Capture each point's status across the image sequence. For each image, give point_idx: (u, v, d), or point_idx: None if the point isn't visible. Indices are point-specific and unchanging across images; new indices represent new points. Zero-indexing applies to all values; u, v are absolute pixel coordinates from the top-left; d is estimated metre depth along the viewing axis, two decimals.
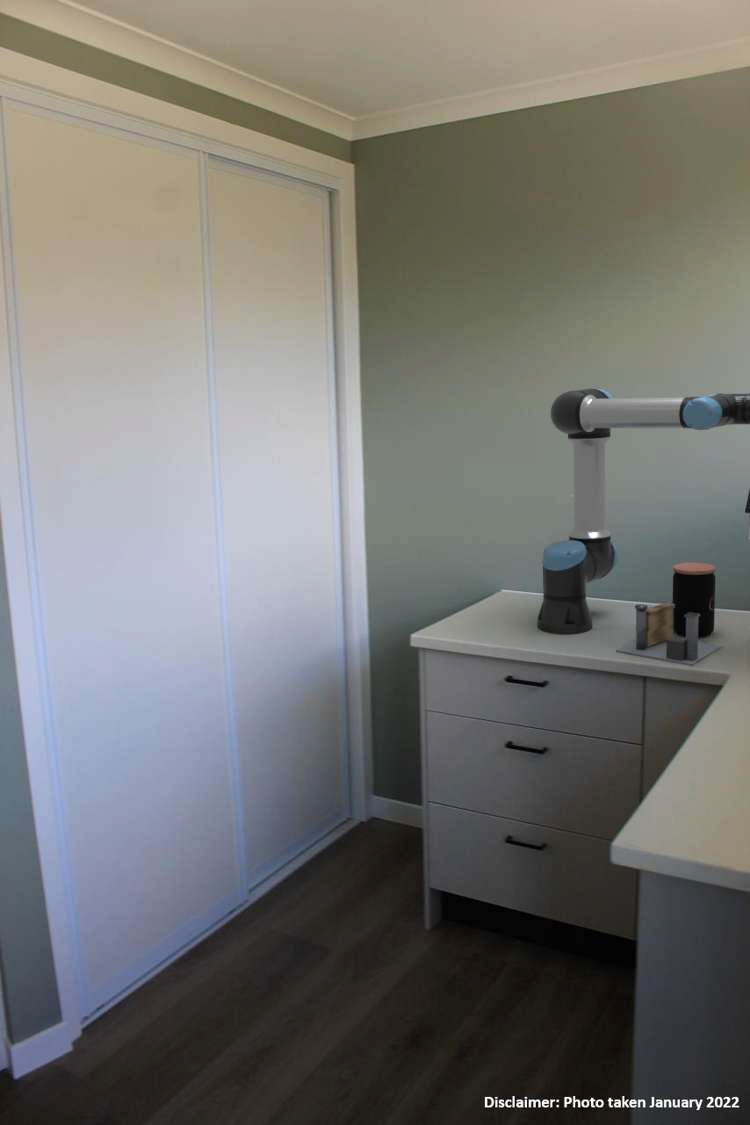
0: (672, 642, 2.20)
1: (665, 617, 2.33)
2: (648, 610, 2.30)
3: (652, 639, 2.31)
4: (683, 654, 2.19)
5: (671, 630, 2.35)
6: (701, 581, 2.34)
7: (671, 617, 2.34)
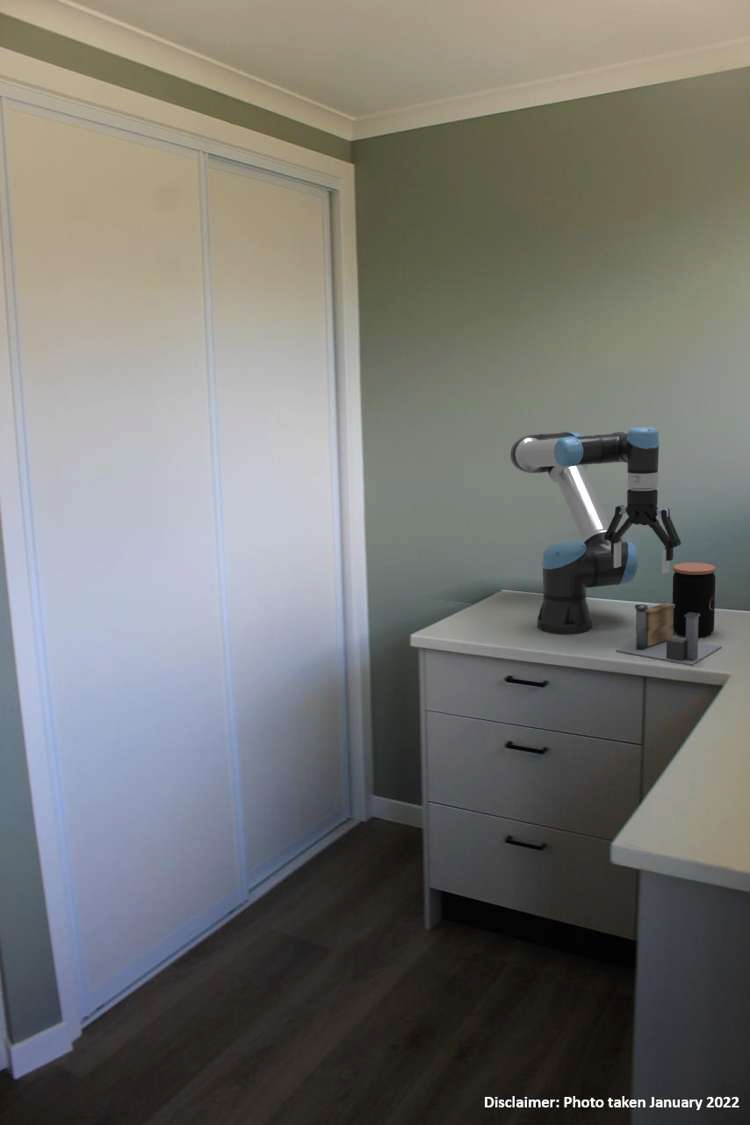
0: (672, 642, 2.20)
1: (665, 617, 2.33)
2: (648, 610, 2.30)
3: (652, 639, 2.31)
4: (683, 654, 2.19)
5: (671, 630, 2.35)
6: (701, 581, 2.34)
7: (671, 617, 2.34)
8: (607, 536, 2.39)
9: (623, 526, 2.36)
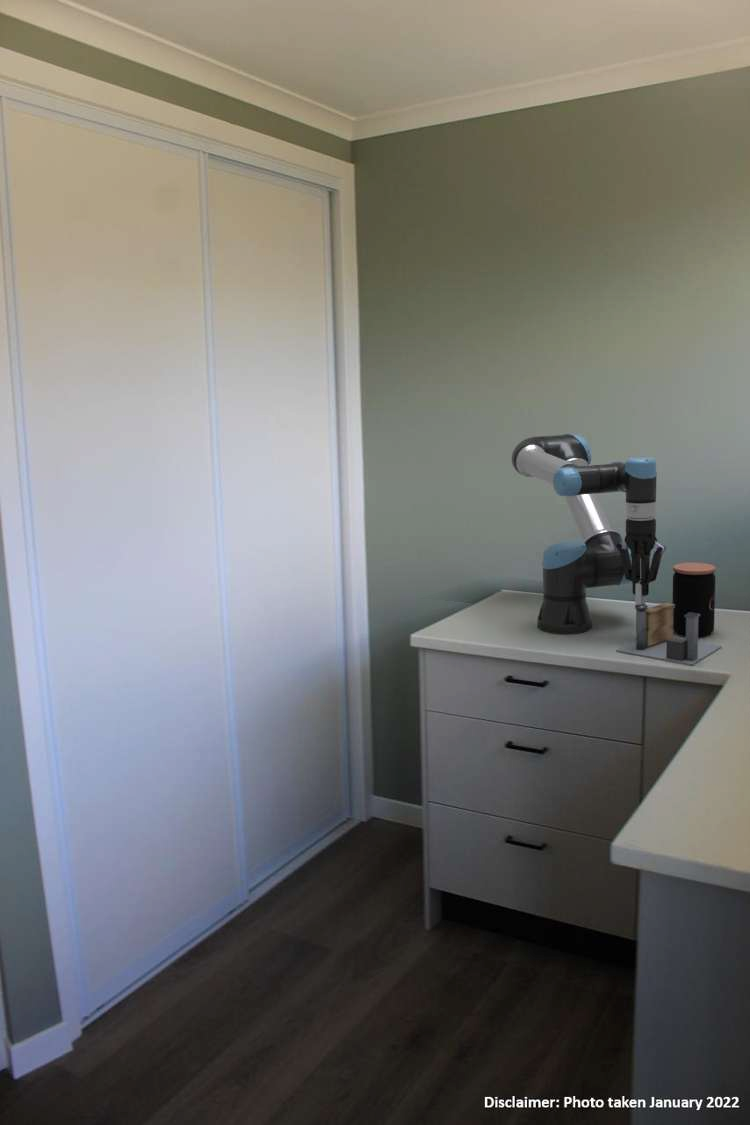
0: (672, 642, 2.20)
1: (665, 617, 2.33)
2: (648, 610, 2.30)
3: (652, 639, 2.31)
4: (683, 654, 2.19)
5: (671, 630, 2.35)
6: (701, 581, 2.34)
7: (671, 617, 2.34)
8: (627, 575, 2.37)
9: (633, 561, 2.35)
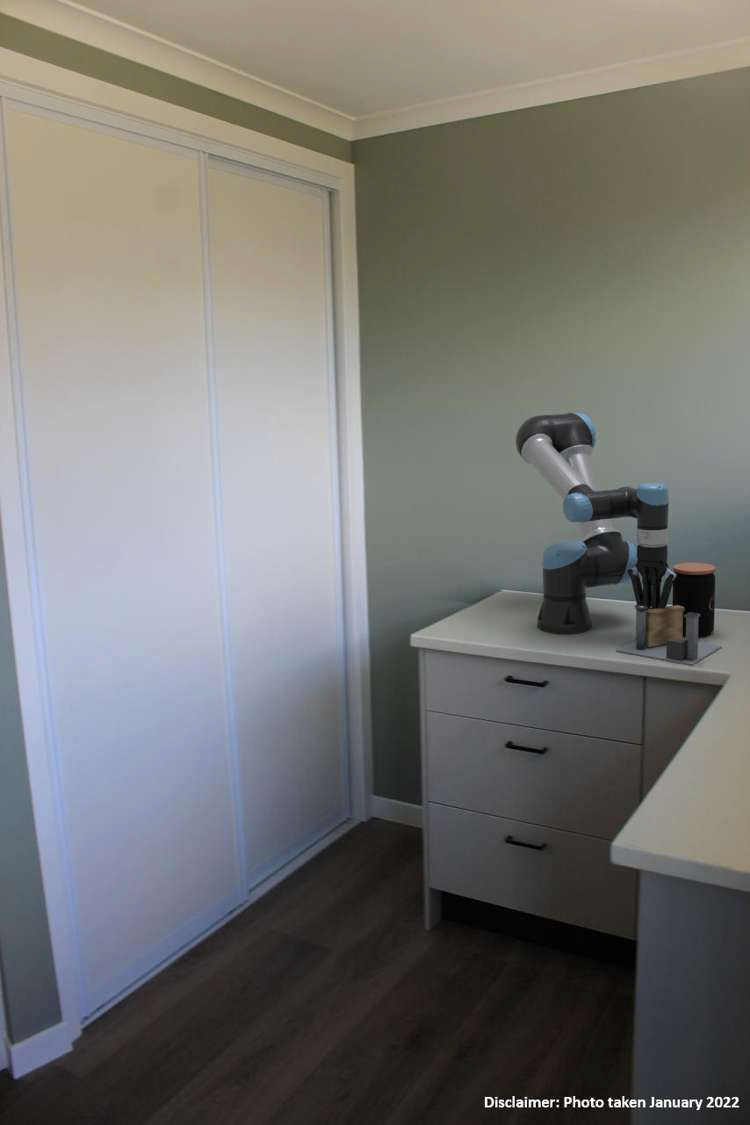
0: (672, 642, 2.20)
1: (671, 619, 2.30)
2: (651, 611, 2.29)
3: (654, 640, 2.30)
4: (683, 654, 2.19)
5: (680, 633, 2.32)
6: (701, 581, 2.34)
7: (680, 620, 2.31)
8: (639, 601, 2.36)
9: (644, 587, 2.34)
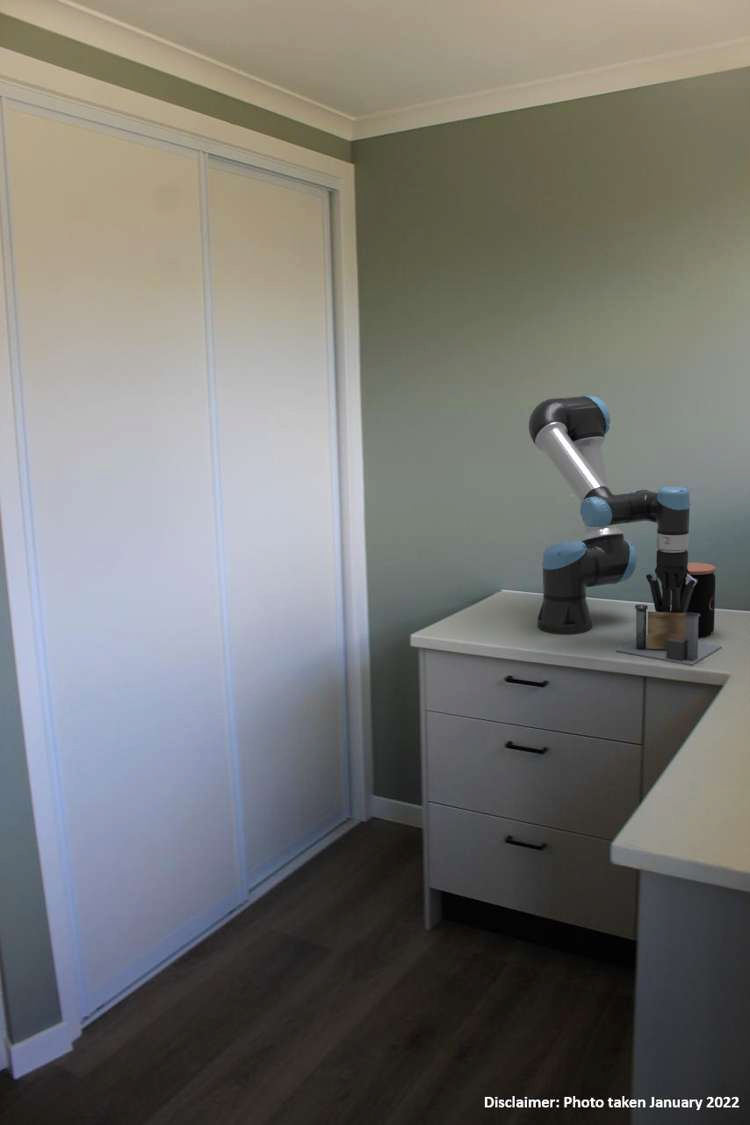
0: (672, 642, 2.20)
1: (677, 625, 2.25)
2: (653, 613, 2.27)
3: (654, 643, 2.28)
4: (683, 654, 2.19)
5: None
6: (701, 581, 2.34)
7: None
8: (657, 607, 2.30)
9: (663, 593, 2.29)
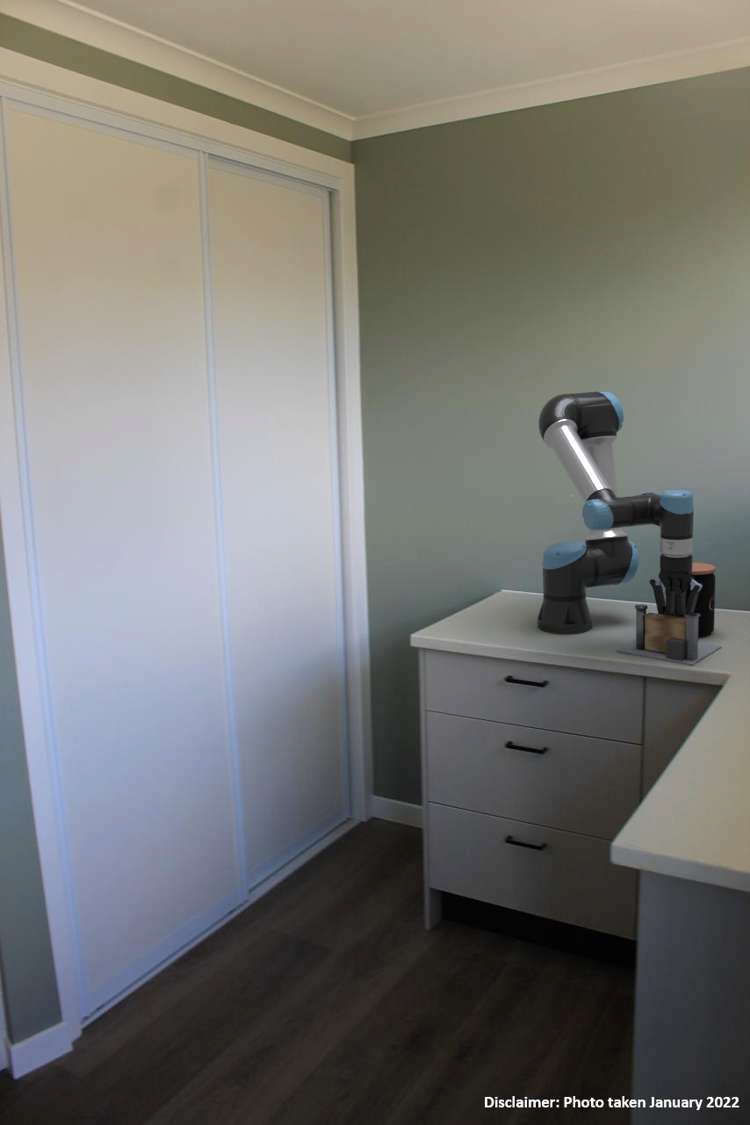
0: (672, 642, 2.20)
1: (671, 629, 2.22)
2: (652, 614, 2.26)
3: (651, 644, 2.27)
4: (683, 654, 2.19)
5: None
6: (701, 581, 2.34)
7: (681, 633, 2.20)
8: (661, 613, 2.26)
9: (667, 598, 2.24)
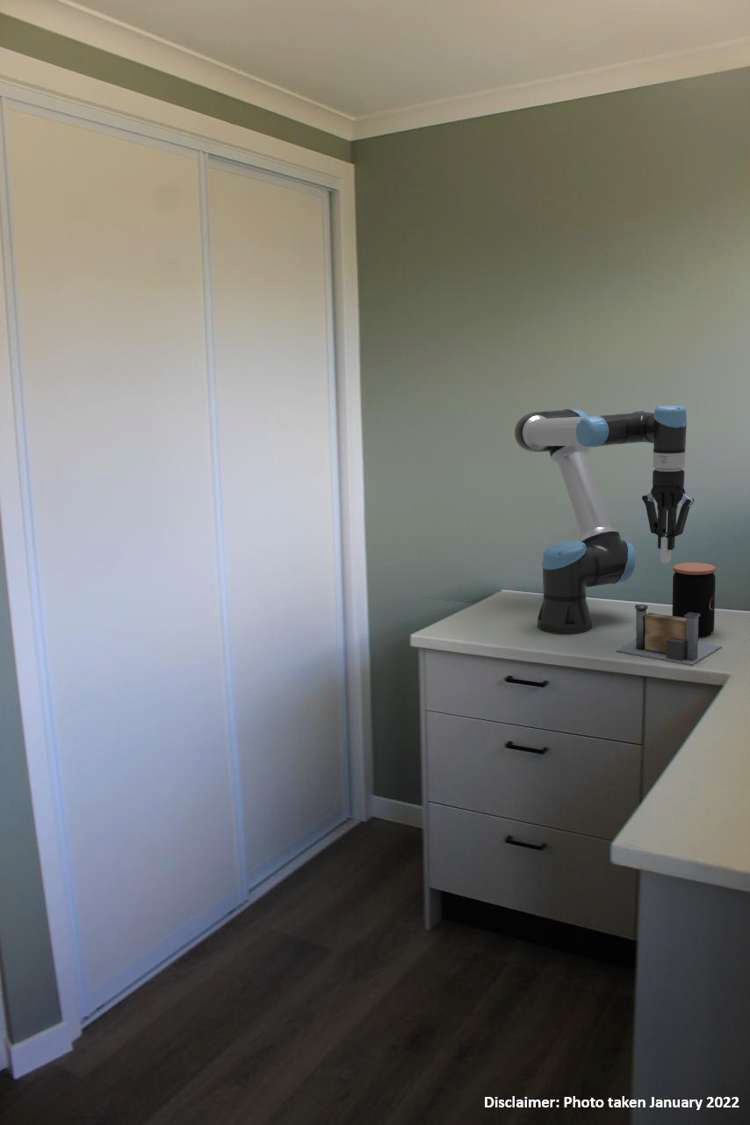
0: (672, 642, 2.20)
1: (671, 629, 2.22)
2: (652, 614, 2.26)
3: (651, 644, 2.27)
4: (683, 654, 2.19)
5: None
6: (701, 581, 2.34)
7: (681, 633, 2.20)
8: (653, 529, 2.29)
9: (659, 514, 2.27)
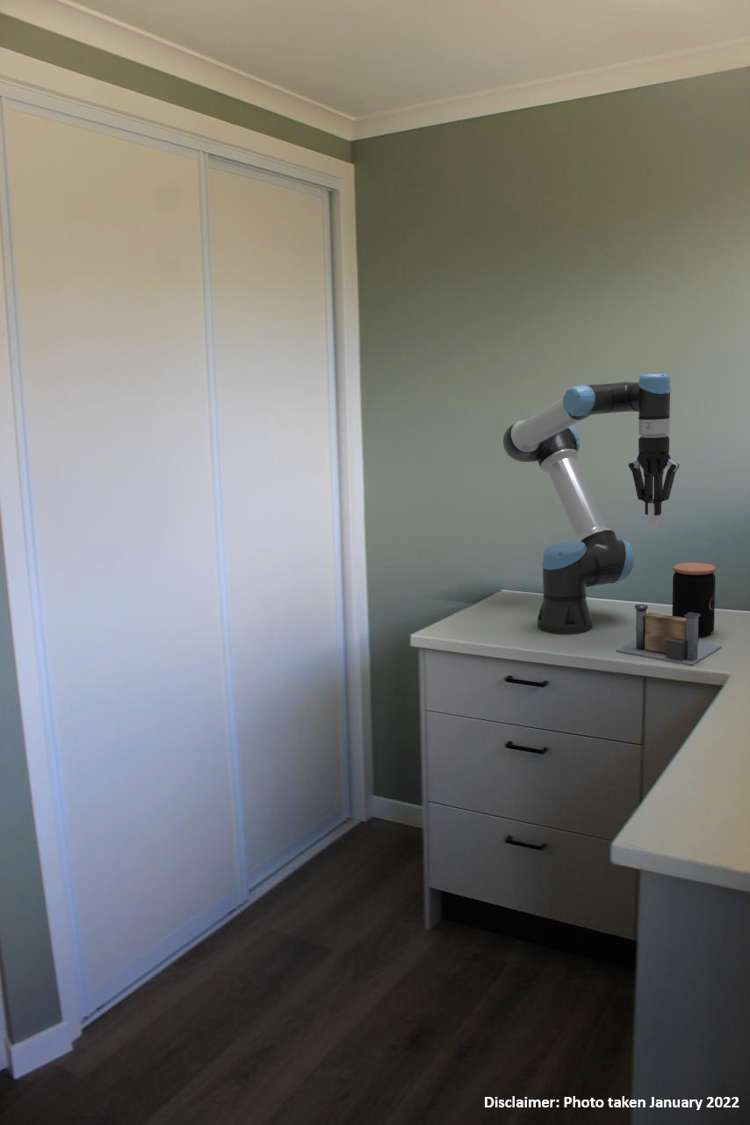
0: (672, 642, 2.20)
1: (671, 629, 2.22)
2: (652, 614, 2.26)
3: (651, 644, 2.27)
4: (683, 654, 2.19)
5: None
6: (701, 581, 2.34)
7: (681, 633, 2.20)
8: (640, 495, 2.34)
9: (645, 480, 2.32)
